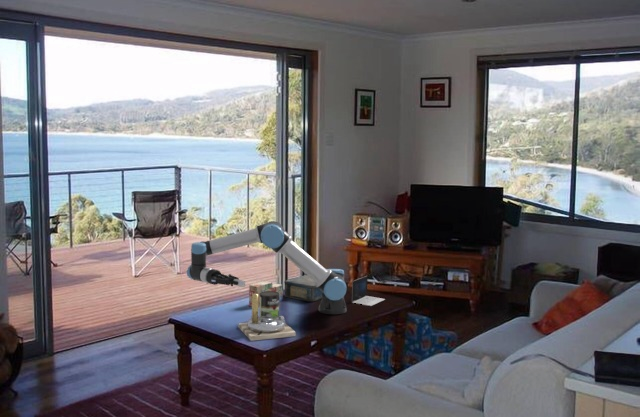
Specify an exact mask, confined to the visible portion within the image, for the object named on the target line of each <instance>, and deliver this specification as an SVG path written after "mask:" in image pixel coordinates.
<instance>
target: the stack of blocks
mask: <svg viewBox="0 0 640 417" xmlns="http://www.w3.org/2000/svg"><path fill="white" fill-rule="evenodd" d="M248 287H249V290H248V293H249V294H248V295H249V296H248V298H249V299H248V300H249V303H248V304H249V307H251V308H252V294H254V293H257V294H258V309H259V301H260V295H259V293H261V292H265V291H273V292H278V293H279V302H282V301H283V299H284V297H283V296H284V295H283V294H284V291H283V289H284V285H283V284H279V283H273V282H270V281H267V280H263V281H258V282H256V283H251V284H249V286H248Z"/></svg>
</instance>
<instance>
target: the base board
mask: <svg viewBox="0 0 640 417" xmlns="http://www.w3.org/2000/svg"><path fill="white" fill-rule="evenodd" d="M238 328H239V329H240V331H241V332H242V333H243V334H244V335H245V336H246V337H247V338H248V340H249V341H250V342H252V341H261V340H262V341H263V340H271V339H282V338H289V337H290V338H291V337H296V331H295V330H294V329H293V328H292V327H291V326H289V325H288V324H287V323H286V322H285V329H284V330H282V331H279V332H274V333H259V332H254V331H251V330H249V329H248V322H242V323H241V322H239V323H238Z"/></svg>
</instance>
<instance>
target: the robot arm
mask: <svg viewBox="0 0 640 417" xmlns="http://www.w3.org/2000/svg"><path fill="white" fill-rule="evenodd" d="M256 243H260V244H263V245H264V246H265V247H267V248H268V249H271V250H272V251H273V252H275V253H276V254H282V255H283V256H284V257H285V258H286V259H288V260H289V261H290V262H291V263H292V264H293V265H295V266H296V267H297V268H298V269H299V270H301V271H302V272H303V273H304V275H308V276H309V277H310V278H311V279H313V280H314V281H315V282H316V286H317V287H318V288H319V289H320V290H321V291H322V299H320V301H319V304H318V312H319V313H321V314H326V315H340V314H345V313H347V304H346V301H345V295H346V293H347V290H348V288H347V284H346V282H345V270H344V269H341V268H325V267H324V266H323V265H322V264H321V263H319V262H318V261H317V260H316V259H315V258H313V257H312V256H311V255H309V253H308V252H306V251H305V250H304V249H303V248H301V247H300V246H299V245H298V243H296V242H294V240H292V235H291V234H289V233H288V231H286V230H285V228H284V227H283V225H282V224H281V223H280V222H278V221H274V220H270V221H267V222H266V223H265V222H264V223H263V224H260V225H259V224H258V225H257V226H255V228H252V229H247V230H245V231H241V232H237V233H236V232H235V233H233V234H229V235H226V236H221V237H218V238H214V239H210V240H207V241H204V240H203V241H200V242H193V243H192V244H191V248H190V259H191V260H190V261H191V262H190V265H189V266H188V267H187V270H186V275H187V277H188V278H189V279H191V280H194V281H199V282H202V283H205V284H206V285H207V284H210V285H218V284H219V285H224V286H230V287H233V286H238V287H241V288H246V280H241V279H239V277H237V276H235V275H232V274H231V273H228V274H227V275H226V274H224V273H222V272H221V271H220V270H218V269H215V268H214V269H213V268H210V267H207V257H209V256H211V255H215V254H218V253H222V252H226V251H229V250H233V249H234V250H235V249H237V248H240V247H241V248H242V247H245V246H249V245H253V244H256Z"/></svg>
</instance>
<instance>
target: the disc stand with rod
mask: <svg viewBox="0 0 640 417" xmlns="http://www.w3.org/2000/svg"><path fill="white" fill-rule="evenodd" d="M250 317H251V318H249V319H248V320H247V323H248V329H249V330H251V331H254V332H259V333H274V332H279V331H282V330H284V329H285V323H286V320H285V317H284V315H279V317H275V316H272V313H267V314H266V316H259V308H258V294H257V293H254V294H252V307H251V316H250Z"/></svg>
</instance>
